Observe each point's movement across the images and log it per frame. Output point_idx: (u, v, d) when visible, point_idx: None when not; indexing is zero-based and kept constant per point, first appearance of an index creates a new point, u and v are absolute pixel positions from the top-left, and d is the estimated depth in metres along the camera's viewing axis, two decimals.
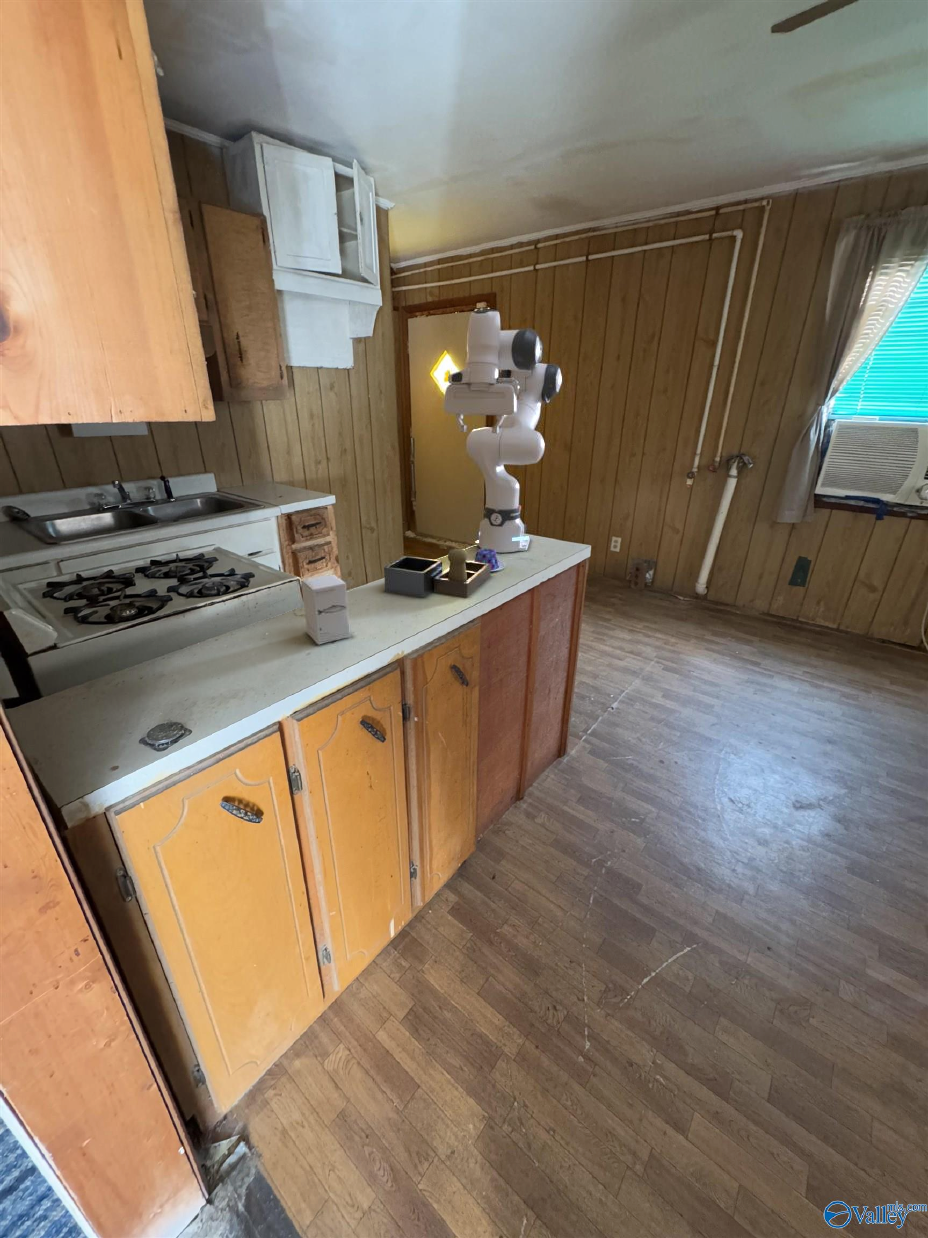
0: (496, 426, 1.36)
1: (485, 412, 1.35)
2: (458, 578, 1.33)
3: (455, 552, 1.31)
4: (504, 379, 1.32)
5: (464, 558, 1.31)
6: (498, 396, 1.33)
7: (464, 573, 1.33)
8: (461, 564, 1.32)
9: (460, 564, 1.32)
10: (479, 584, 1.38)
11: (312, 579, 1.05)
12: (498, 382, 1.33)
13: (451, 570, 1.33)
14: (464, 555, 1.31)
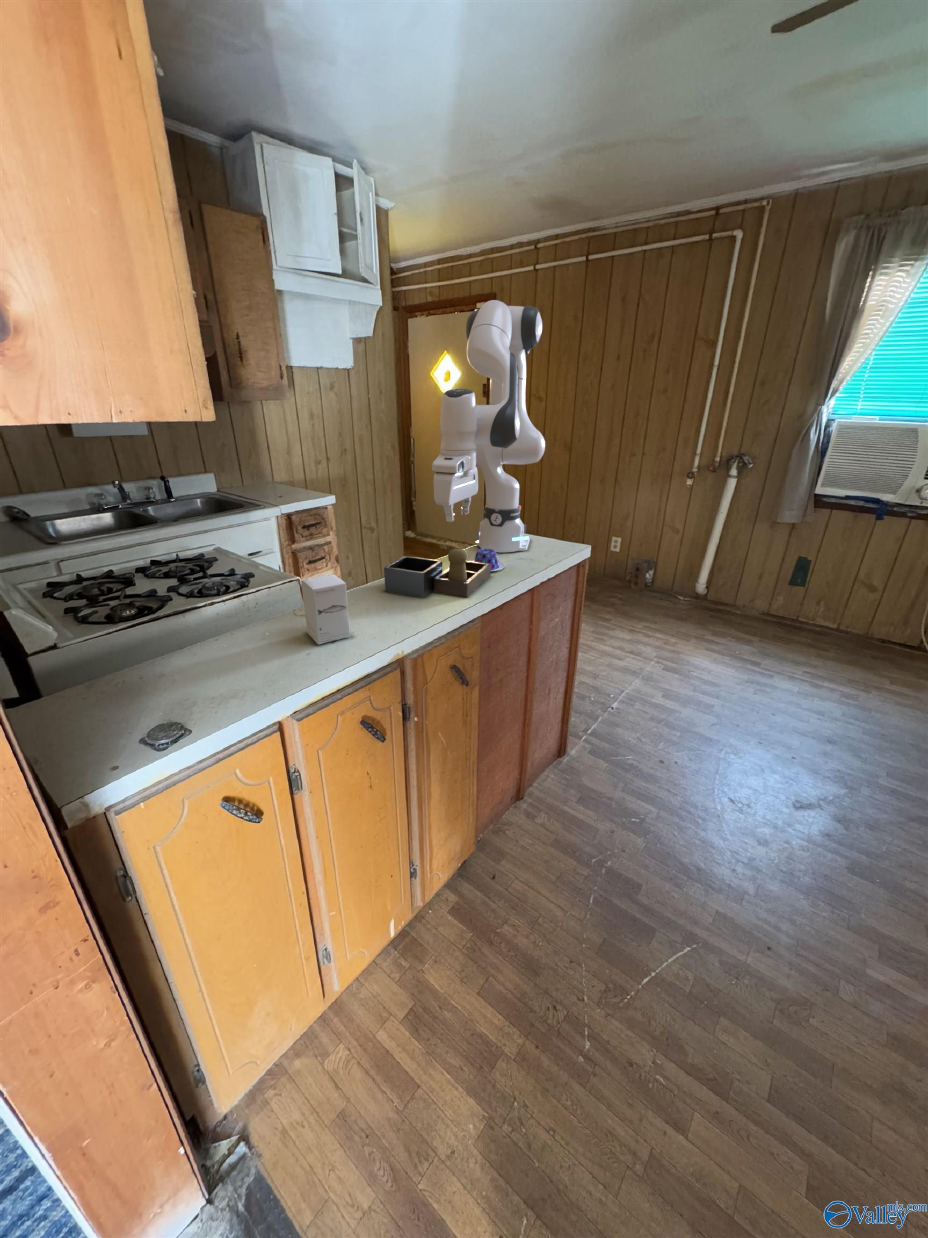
0: (468, 507, 1.32)
1: (467, 497, 1.28)
2: (458, 578, 1.33)
3: (455, 552, 1.31)
4: None
5: (464, 558, 1.31)
6: (471, 479, 1.29)
7: (464, 573, 1.33)
8: (461, 564, 1.32)
9: (460, 564, 1.32)
10: (479, 584, 1.38)
11: (312, 579, 1.05)
12: None
13: (451, 570, 1.33)
14: (464, 555, 1.31)
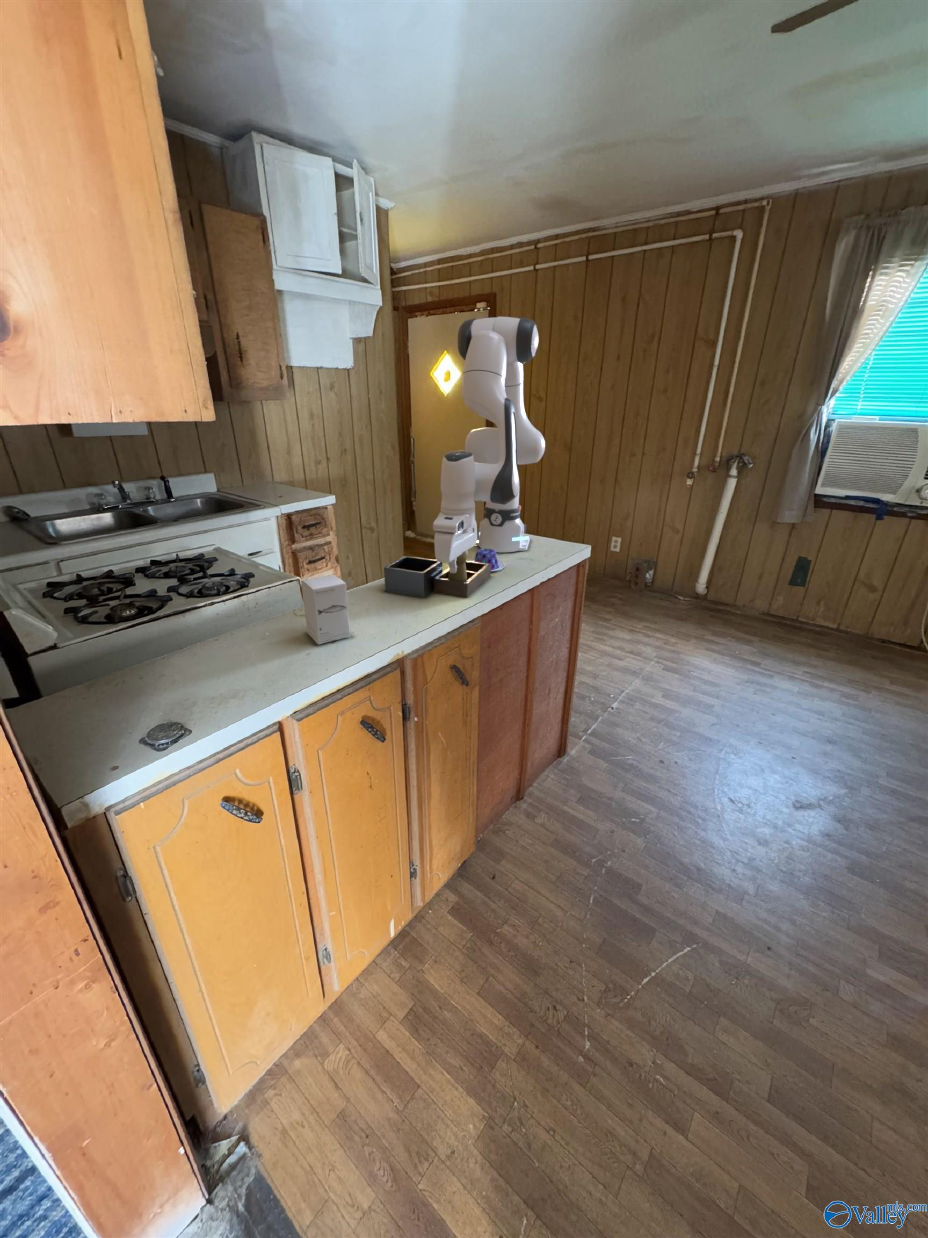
0: None
1: (466, 550, 1.34)
2: (458, 578, 1.33)
3: None
4: None
5: (464, 558, 1.31)
6: (470, 532, 1.35)
7: (464, 573, 1.33)
8: (461, 563, 1.32)
9: (460, 564, 1.32)
10: (479, 584, 1.38)
11: (312, 579, 1.05)
12: None
13: None
14: (464, 555, 1.31)
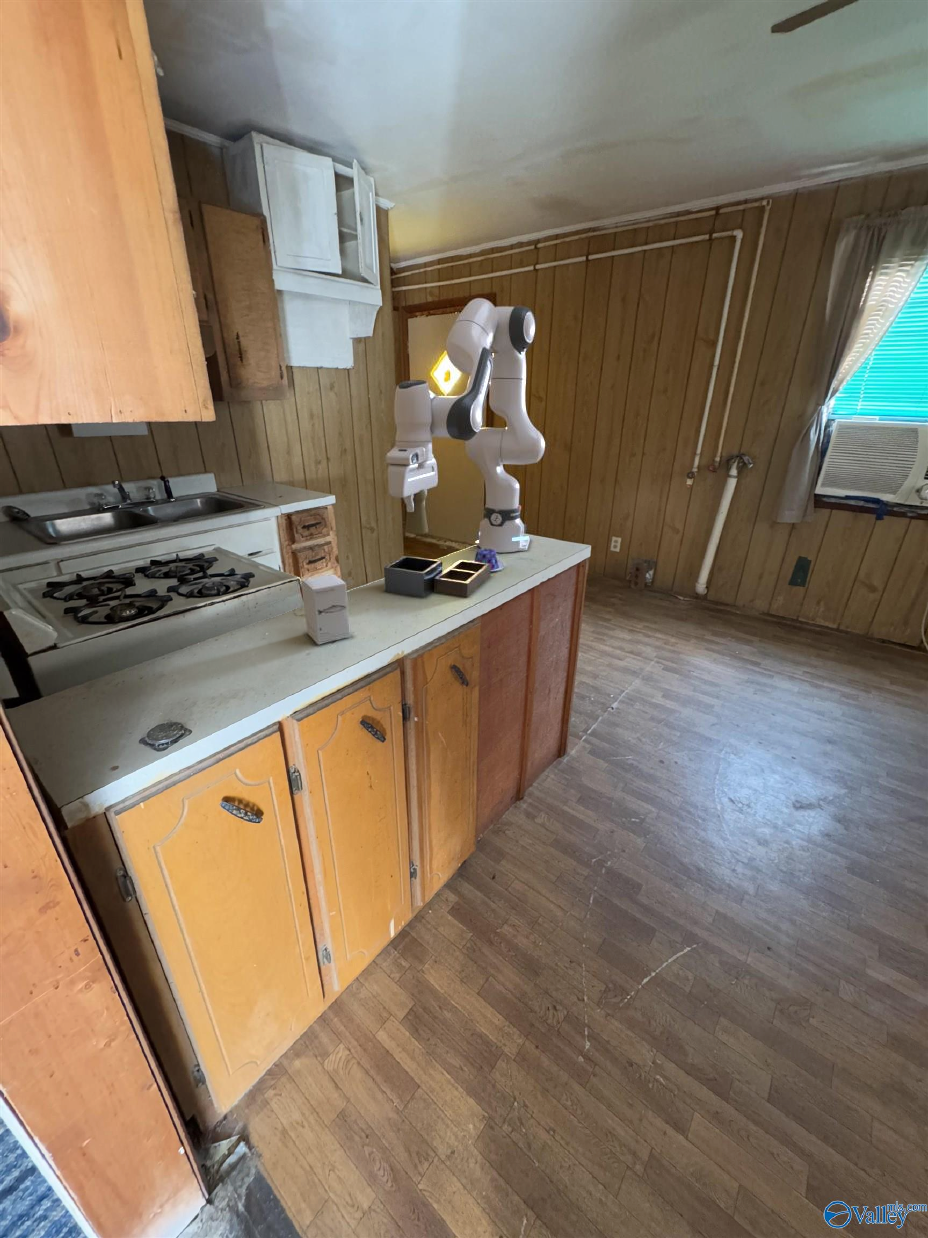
0: (424, 501, 1.30)
1: (425, 489, 1.28)
2: (416, 518, 1.27)
3: None
4: None
5: (422, 496, 1.25)
6: (429, 471, 1.29)
7: (423, 513, 1.28)
8: (419, 502, 1.26)
9: (418, 502, 1.26)
10: (479, 584, 1.38)
11: (312, 579, 1.05)
12: None
13: None
14: (421, 493, 1.25)
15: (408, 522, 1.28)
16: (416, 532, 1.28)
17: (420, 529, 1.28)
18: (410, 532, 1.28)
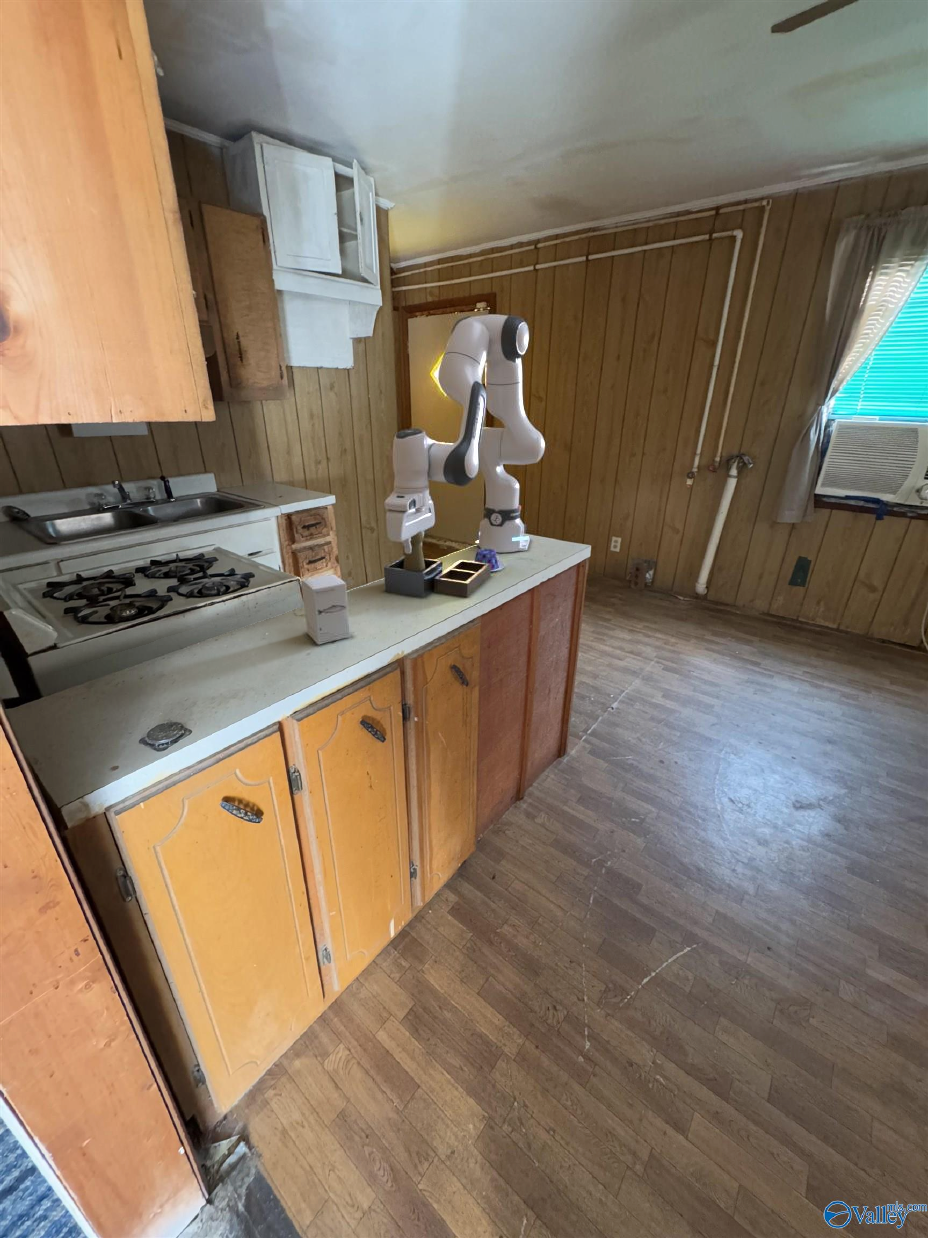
0: None
1: (422, 530, 1.32)
2: (413, 559, 1.31)
3: None
4: None
5: (419, 539, 1.30)
6: (426, 513, 1.33)
7: (420, 554, 1.32)
8: (416, 544, 1.30)
9: (415, 544, 1.30)
10: (479, 584, 1.38)
11: (312, 579, 1.05)
12: None
13: None
14: (419, 535, 1.30)
15: (405, 562, 1.33)
16: None
17: (418, 569, 1.32)
18: None
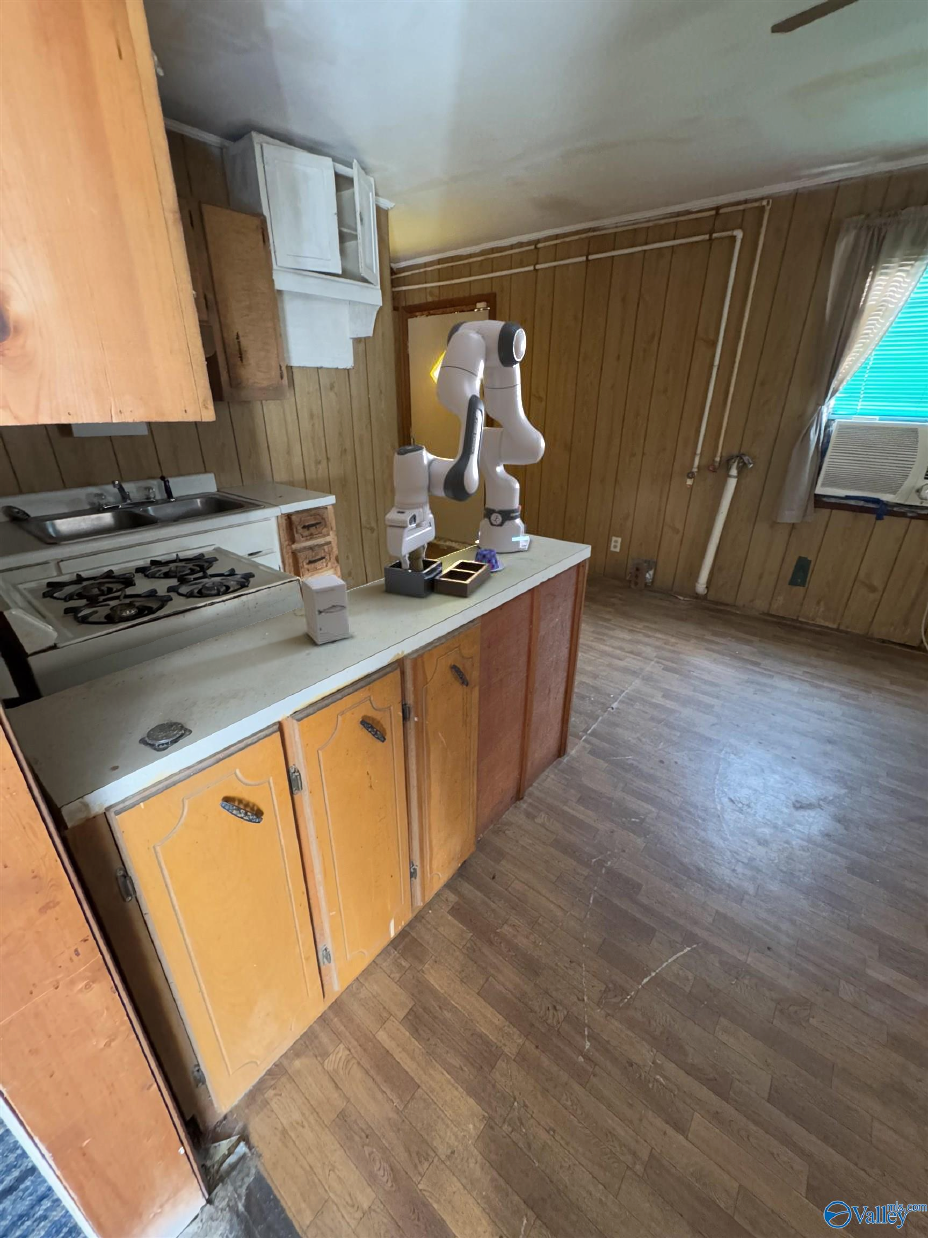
0: (424, 553, 1.37)
1: (422, 544, 1.34)
2: None
3: None
4: None
5: (419, 554, 1.31)
6: (427, 526, 1.35)
7: (420, 569, 1.34)
8: (417, 559, 1.32)
9: (416, 559, 1.32)
10: (479, 584, 1.38)
11: (312, 579, 1.05)
12: None
13: None
14: (419, 551, 1.31)
15: None
16: None
17: None
18: None
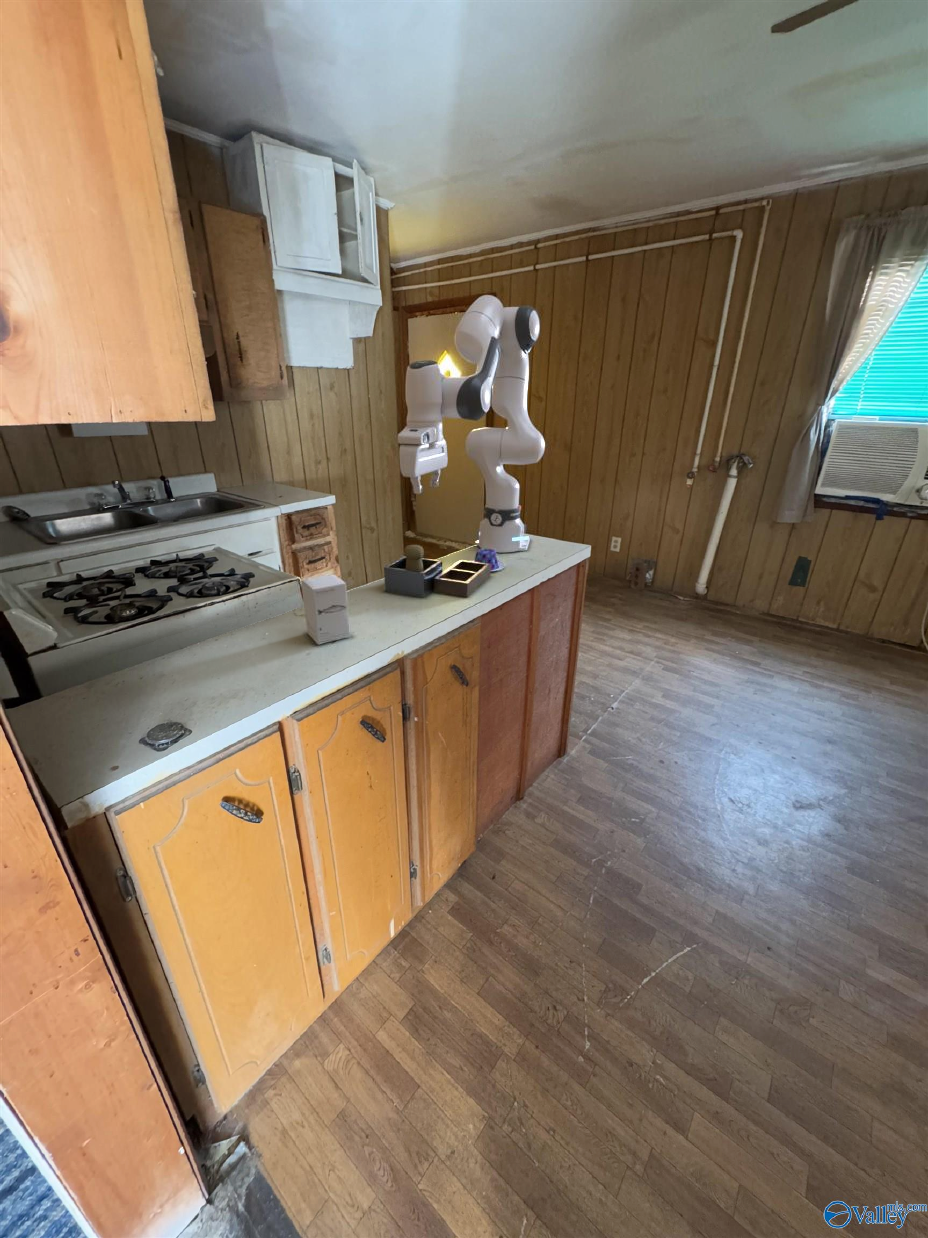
0: (437, 480, 1.34)
1: (435, 469, 1.30)
2: None
3: (410, 548, 1.31)
4: None
5: (420, 554, 1.32)
6: (439, 451, 1.31)
7: (420, 569, 1.34)
8: (417, 559, 1.32)
9: (416, 559, 1.32)
10: (479, 584, 1.38)
11: (312, 579, 1.05)
12: None
13: (407, 566, 1.33)
14: (420, 551, 1.31)
15: None
16: None
17: None
18: None
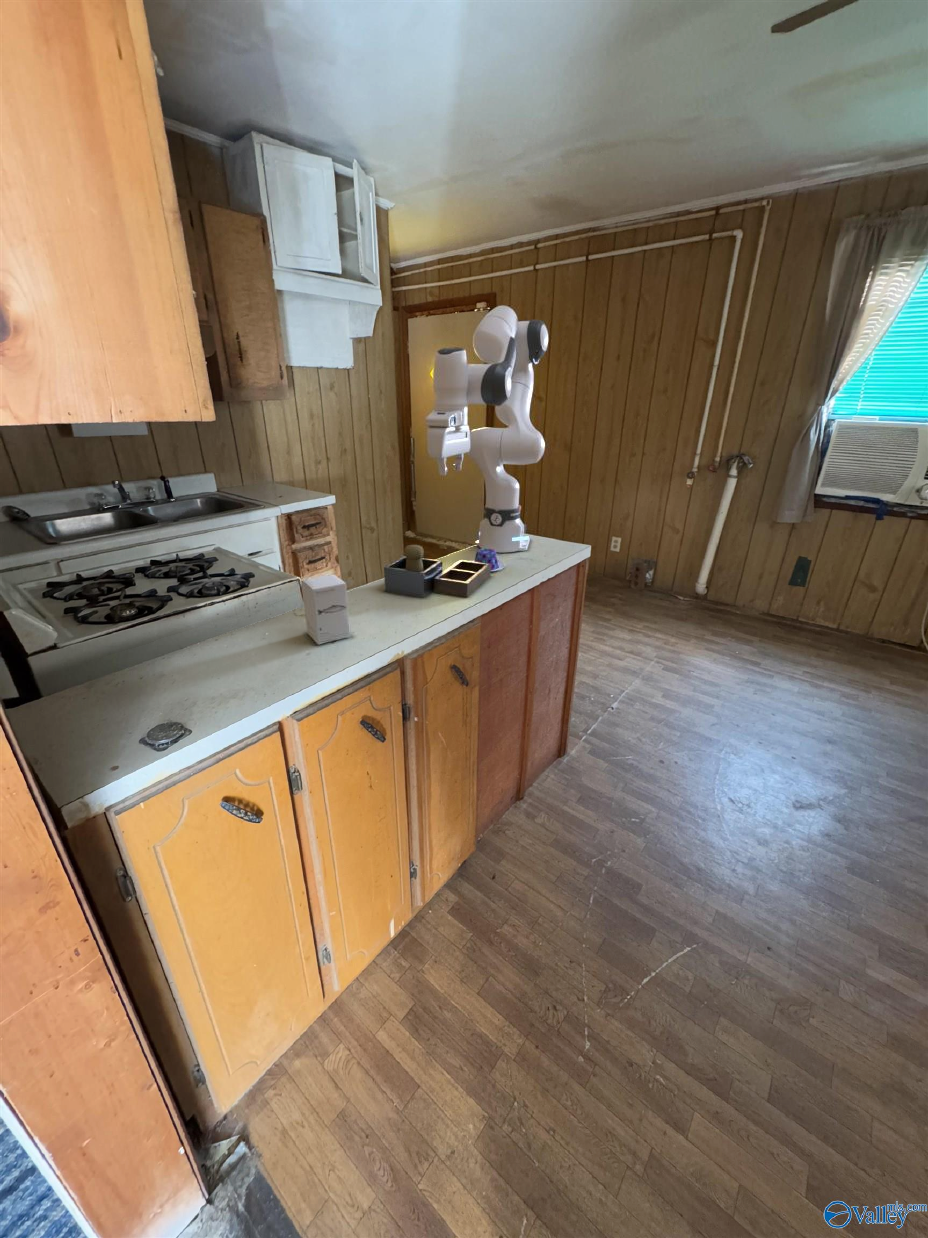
0: (461, 464, 1.39)
1: (459, 453, 1.35)
2: None
3: (410, 548, 1.31)
4: None
5: (420, 554, 1.32)
6: (463, 436, 1.36)
7: (420, 569, 1.34)
8: (417, 559, 1.32)
9: (416, 559, 1.32)
10: (479, 584, 1.38)
11: (312, 579, 1.05)
12: None
13: (407, 566, 1.33)
14: (420, 551, 1.31)
15: None
16: None
17: None
18: None
